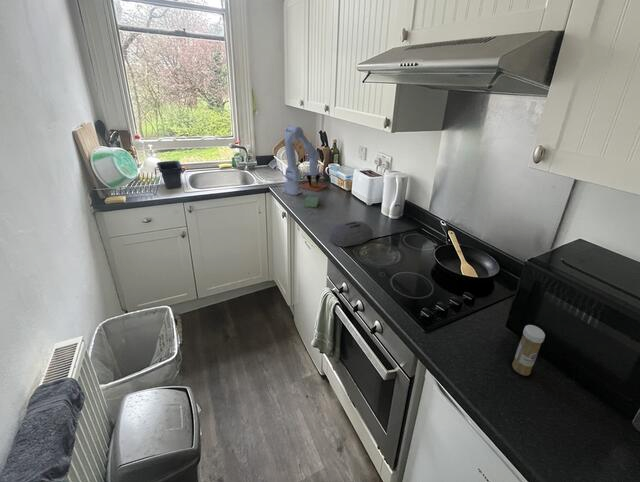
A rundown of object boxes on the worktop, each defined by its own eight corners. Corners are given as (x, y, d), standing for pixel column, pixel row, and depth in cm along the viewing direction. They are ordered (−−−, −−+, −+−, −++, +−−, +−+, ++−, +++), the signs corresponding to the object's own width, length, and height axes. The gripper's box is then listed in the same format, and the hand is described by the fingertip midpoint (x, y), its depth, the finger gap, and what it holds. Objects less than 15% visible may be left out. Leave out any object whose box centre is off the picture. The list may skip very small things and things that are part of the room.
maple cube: (311, 187, 212) (311, 181, 211) (309, 185, 216) (309, 180, 214) (316, 186, 214) (316, 181, 212) (314, 185, 217) (315, 179, 216)
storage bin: (186, 188, 198) (183, 167, 193) (159, 191, 190) (155, 170, 185) (181, 179, 214) (178, 160, 209) (156, 182, 206) (152, 162, 201)
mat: (298, 187, 212) (298, 186, 212) (308, 182, 224) (308, 181, 224) (317, 191, 206) (317, 191, 206) (327, 186, 218) (327, 185, 218)
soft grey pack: (357, 229, 154) (324, 238, 144) (359, 214, 151) (324, 222, 141) (376, 242, 143) (340, 252, 132) (377, 226, 140) (341, 235, 129)
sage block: (304, 206, 180) (305, 200, 178) (307, 202, 186) (307, 196, 185) (316, 207, 179) (316, 201, 178) (318, 203, 186) (318, 197, 184)
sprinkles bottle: (523, 378, 78) (537, 339, 73) (507, 364, 82) (520, 326, 77) (534, 372, 80) (549, 334, 75) (519, 359, 84) (532, 322, 79)
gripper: (305, 168, 203) (304, 187, 208) (324, 167, 209) (324, 186, 214) (302, 166, 209) (302, 184, 214) (321, 165, 215) (321, 183, 220)
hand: (313, 185), depth 214 cm, fingers closed on maple cube, 4 cm apart
